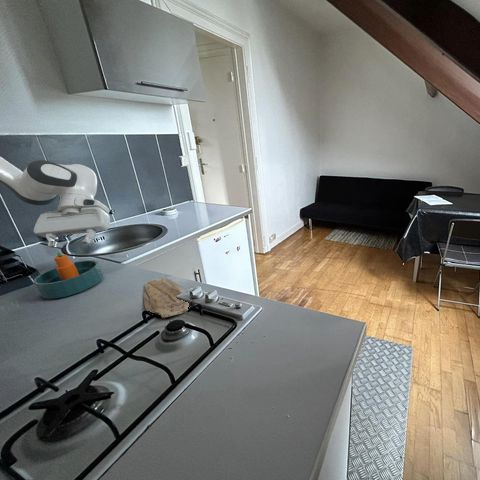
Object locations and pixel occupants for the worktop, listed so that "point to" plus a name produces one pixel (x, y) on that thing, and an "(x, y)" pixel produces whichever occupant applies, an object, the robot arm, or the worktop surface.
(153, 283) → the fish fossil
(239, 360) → the worktop surface
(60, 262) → the carrot
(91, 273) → the bowl
